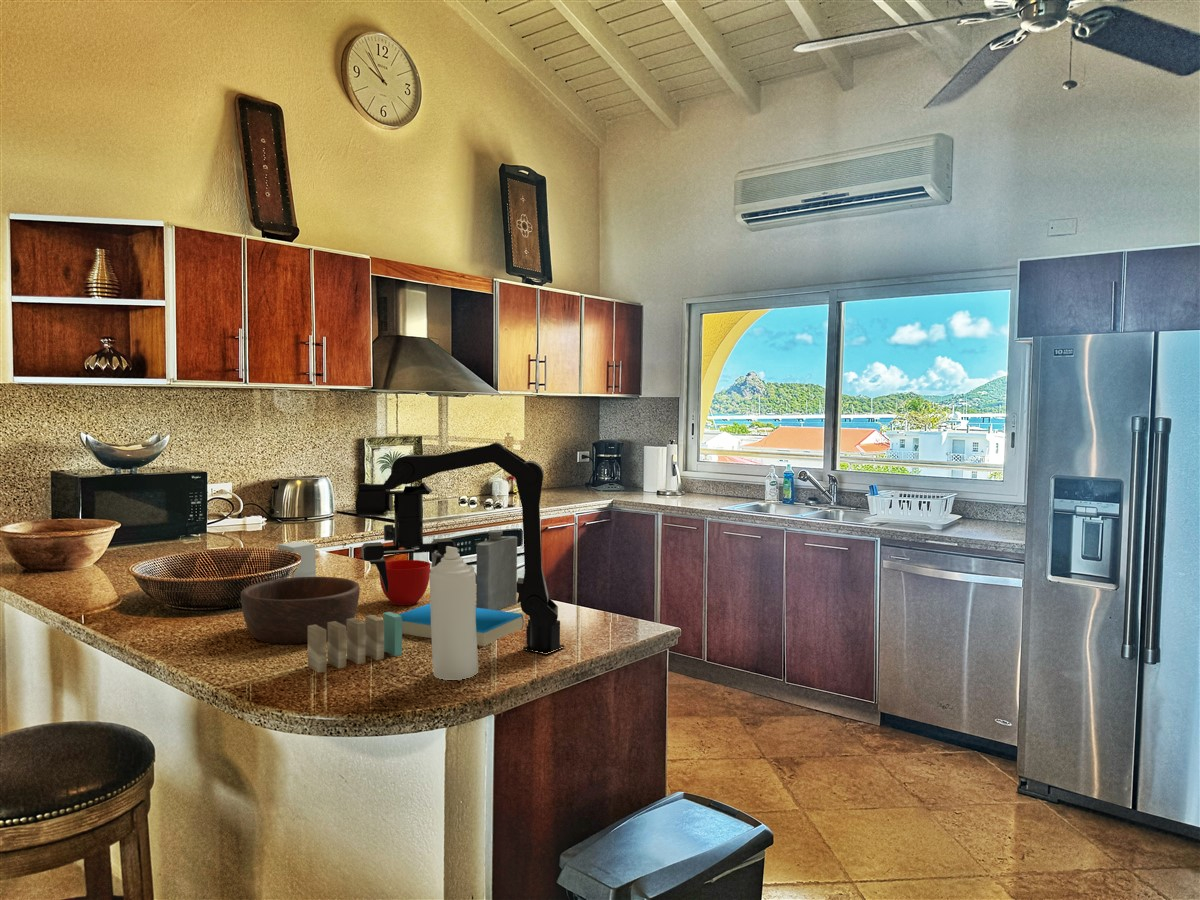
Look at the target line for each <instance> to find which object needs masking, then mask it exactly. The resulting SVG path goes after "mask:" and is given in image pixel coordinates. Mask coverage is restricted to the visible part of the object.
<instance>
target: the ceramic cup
mask: <svg viewBox="0 0 1200 900" xmlns="http://www.w3.org/2000/svg"><path fill="white" fill-rule="evenodd" d="M386 569H387V578H388V592H386V590H385V587H384V584H383V581H382V579H381V576H380V573H378V574H379V582H380V586H381V590H382V592H383V594H384V595H385V598H387V599H388V601H390V603H391V605H394V604H395V606H410V605H409V604H412V605H415V603H416V604H418V603H419V601H420V600H421V598H422V597H423V596H424V595H425V593H426V591H427V588H428V586H429V584H430V580H429V573H430V572H431V571H430V569H431V563H430V562H428V561H424V560H417V559H402V560H401V559H400V560H391V561H386ZM417 602H418V603H417Z"/></svg>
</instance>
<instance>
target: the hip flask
mask: <svg viewBox="0 0 1200 900" xmlns="http://www.w3.org/2000/svg"><path fill="white" fill-rule="evenodd" d="M487 534H488V535H489V536H488V540H485V541H481V542H479V543H476V572H475V575H476V608H483V609H490V610H498V611H501V610H502V609H504V608H509V607H512V606H515V605H517V604H518V603H517V600H518V597H517V594H518V589H517V581H518V537H517V536H515V535H514V536H513V535H511V536H510V535H507V536H502V535H503V530H501V529H500V530H499V529H492V530H488V531H487Z"/></svg>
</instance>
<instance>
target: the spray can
mask: <svg viewBox="0 0 1200 900" xmlns="http://www.w3.org/2000/svg"><path fill="white" fill-rule="evenodd" d="M460 555H461V554H460V553H459V549H458V547H456V548H455V547H450V546H446V554H444V557H443V558H441V562H439V563H438V564H437V565H436V566H434V567H432V566H431V567H432V568H431V567H430V573H429V599H430V602H429V604H430V607H431V637H432V638H431V652H432V653H431V660H432V661H431V662H432V669H433V670H432V671H433V673H432V674H433V677H435V678H436V679H438V678H439V680H441V679H443V680H442V681H447V680H458V681H463V680H462V679H465V680H467V679H466V678H469V679H471V678H470V677H472V676H474V675H476V674H477V673H478V674H479V658H478V657H479V654H478V645H477V636H476V572H475V567H474V566H472V565H469V564H467V563H466V562H464V558H463V557H461V556H460ZM478 674H477V675H478ZM477 675H476V676H477ZM474 677H475V676H474ZM472 678H473V677H472Z"/></svg>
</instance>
